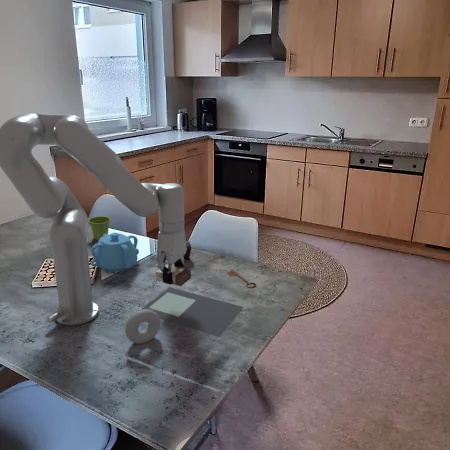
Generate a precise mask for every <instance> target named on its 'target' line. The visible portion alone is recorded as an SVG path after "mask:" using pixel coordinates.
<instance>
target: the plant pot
mask: <svg viewBox="0 0 450 450" xmlns="http://www.w3.org/2000/svg"><path fill="white" fill-rule="evenodd" d="M110 221H111V217H109V216H105V215H103V216H99V215H98V216H94V217H93V216H92V217H91V218H88V224H89V226H90V227H91V232H92V236H93V239H94V240H96V241H99V239H100V238H101V237H102V236H103V235H104V234H109V226H110Z"/></svg>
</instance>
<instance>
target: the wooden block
mask: <svg viewBox="0 0 450 450" xmlns="http://www.w3.org/2000/svg"><path fill="white" fill-rule="evenodd" d="M165 267H167V268H168V265H167V264H166V266H165ZM171 272H172V279H173V284H172V285H175V286H179V287H182V286H183V285H185V284H186V283H188V281H189V280H191V278H192V270H191V269H190V268H185V267H184V268H181V267H177V266H174V264H172V268H171ZM155 281H158V282H162V283H163V273H162V272H161V270H160V269H159V268H158V269H157V270H156V271H155Z"/></svg>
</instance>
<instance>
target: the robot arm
mask: <svg viewBox="0 0 450 450" xmlns="http://www.w3.org/2000/svg"><path fill="white" fill-rule="evenodd" d="M38 145H39V146H41V145H42V146H43V145H45V146H58V147H59V148H61V149H62V150H63V151H64V152H65V153H67V154H68V155H69V156H71V158H73V159H74V160H75V161H76V162H77V163H79V164H80V165H81V166H82V167H83V168H84V169H86V170H87V171H89V173H91V174H92V176H93V177H95V178H96V179H97V180H98V182H99V183H100V184H101V185H103V187H105V188H106V189H107V191H108V192H109V193H111V194H112V196H113V197H114V198H115V199H116V200H118V201H119V202H120V203H121V204H122V205H123V206H125V208H127V209H128V210H130V211H131V212H132V213H133V214H135V215H137V216H138V217H141V218H149V217H152V216H153V215H155V214H156V213H157V211H158V225H159V226H158V229H159V231H158V234H157V240H156V259H157V260H156V261H157V266H156V267H157V268H158V270H159V269H160V270H161V272H162V273H163V282H162V283H164V284H167V285H169V286H171V285H174V284H173V279H172V272H171V268H172V265H173V266H177V267H181V268H185V267H184V263H185V260H184V257H185V253H186V251H187V247H186V238H187V237H186V229H185V194H184V193H185V191H184V187H183V185H181V184H179V183H173V182H171V183H170V182H169V183H163V184H162V183H151V182H140V181H139V180H138V179H136V178H135V177H134V175H133V174H132V173H131V171H129V170H128V169H127V167H126V166H125V164H124V162H123V161H122V159H121V157H120V156H119V155H118V154H117V153H116V152H115V151H114V150H113V149H112V148H111V147H109V146H108V145H107V144H106V143H105V142H104V141H103V140H102V139H100V138H99V137H98V136H97V135H96V134H95V133H94V132H92V131H91V130H90V129H89V126H88V124H87V122H86V121H85V119H83V118H82V117H80V116H78V115H74V114H53V113H52V114H50V113H49V114H48V113H30V112H29V113H22V114H19V115H17V116H13V117H12V118H10V119H9V118H8V120H6V121H5V122H4V123H3V124H2V125H1V126H0V168H1V170H2V171H3V172H4V174H5V176H6V177H7V178H8V179H9V181H10V182H11V183H12V185H13V187H14V188H15V189H16V190H17V192H18V193H19V195H20V196H21V197H22V199H23V200H24V201H25V203H26V204H27V206H28V207H29V209H30V210H31V211H32V212H33V213H34V214H35V215H36V216H37V217H39V218H43V219H51V221H52V222H53V223H52V224H51V226H50V230H49V233H48V234H49V235H48V240H49V246H50V249H51V250H50V251H51V254H52V259H53V266H54V273H55V282H56V288H57V289H56V290H57V298H58V304H59V305H57V306H56V310H55V311H54V313H52V314H51V315H49V316H47V318H46V321H47V322H48V323H49V324H53V322H55V321H56V322H57V323H59V324H61V325H64V326H79V325H83V324H86V323H88V322H91V321H93V319H94V320H95V318H96V317H97V316H98V315H99V312H100V311H99V310H100V309H99V308H100V307H99V305H98V304H97V303H95V302H94V301H93V291H92V281H91V270H90V268H91V267H90V260H89V258H90V257H89V251H88V245H87V234H88V229H89V221H88V220H89V218H88V215H87V213H86V211H85V210H84V208H83V207H82V205H81V204H80V202H79V201H78V200H77V198H76V196H75V195H74V194H73V192H72V191H71V189H70V188H69V187H68V185H67V184H66V183H65V182H64V181H63V180H61V179H60V178H58V177H55V176H53V175H52V176H51V175H50V176H49V175H48V174H47V173H46V171H45V170H44V168H43V166H42V165H41V163H40V162H39V161H38V160H37V159H36V158H35V157H34V155H33V153H32V150H33V149H34V148H35V147H37V146H38ZM166 264H167V265H168V268H167V267H165V266H166Z"/></svg>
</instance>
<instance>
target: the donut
mask: <svg viewBox="0 0 450 450" xmlns="http://www.w3.org/2000/svg"><path fill="white" fill-rule="evenodd" d="M142 309H143V308H142ZM145 322H146V323H147V326H146V328H144V329H143V330H139V327H140V326H141V324H143V323H145ZM160 328H161V319H160V318H159V316H158V315H157V313H156V312H154V311H153V310H149V309H143V310H141V309H140V310H138V311H137V310H136V312H134V313H133V314H131V315H130V317H129V318H128V319H127V322H126V324H125V330H124V332H125V336H126V338H127V339H128V340H129V342H131V343H133V344H137V345H138V344H139V345H141V344H146V343H148V342H150V341H152V340H153V339H154V338H155V337H156V336H157V334H158V333H159V330H160Z"/></svg>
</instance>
